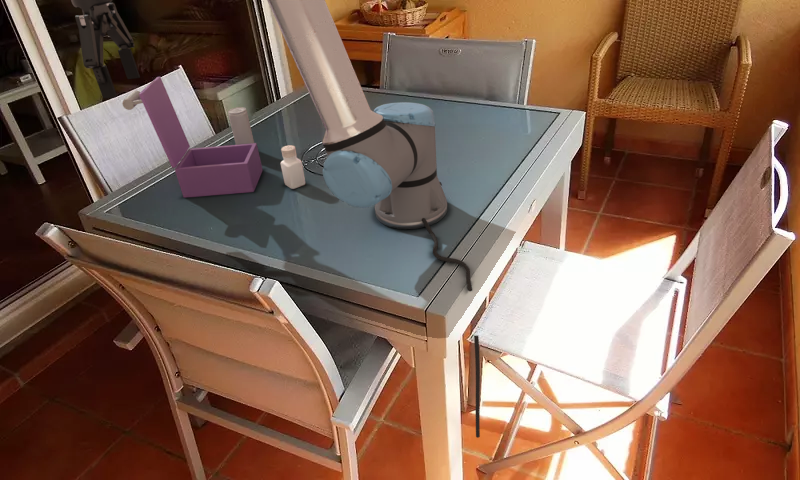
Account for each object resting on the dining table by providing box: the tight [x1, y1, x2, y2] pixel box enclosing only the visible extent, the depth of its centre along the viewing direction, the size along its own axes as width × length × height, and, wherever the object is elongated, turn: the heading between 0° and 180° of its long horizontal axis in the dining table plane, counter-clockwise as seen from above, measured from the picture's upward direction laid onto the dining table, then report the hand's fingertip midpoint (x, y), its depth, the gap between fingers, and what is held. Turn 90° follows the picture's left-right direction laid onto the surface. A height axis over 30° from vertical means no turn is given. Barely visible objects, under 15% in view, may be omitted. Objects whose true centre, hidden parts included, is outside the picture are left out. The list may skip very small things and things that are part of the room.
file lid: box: [121, 76, 191, 169], centre depth 132 cm, size 18×12×7 cm
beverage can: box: [227, 106, 255, 145], centre depth 153 cm, size 5×5×12 cm
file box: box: [174, 142, 264, 198], centre depth 139 cm, size 17×12×7 cm
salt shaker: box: [280, 144, 307, 190], centre depth 134 cm, size 4×4×10 cm
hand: (122, 87), depth 127 cm, fingers open, 13 cm apart
